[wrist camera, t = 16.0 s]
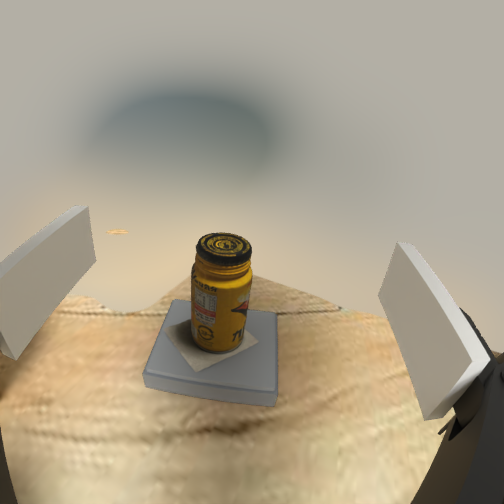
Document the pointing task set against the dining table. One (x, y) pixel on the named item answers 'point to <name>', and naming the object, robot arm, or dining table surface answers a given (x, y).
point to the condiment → (216, 302)
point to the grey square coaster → (219, 364)
